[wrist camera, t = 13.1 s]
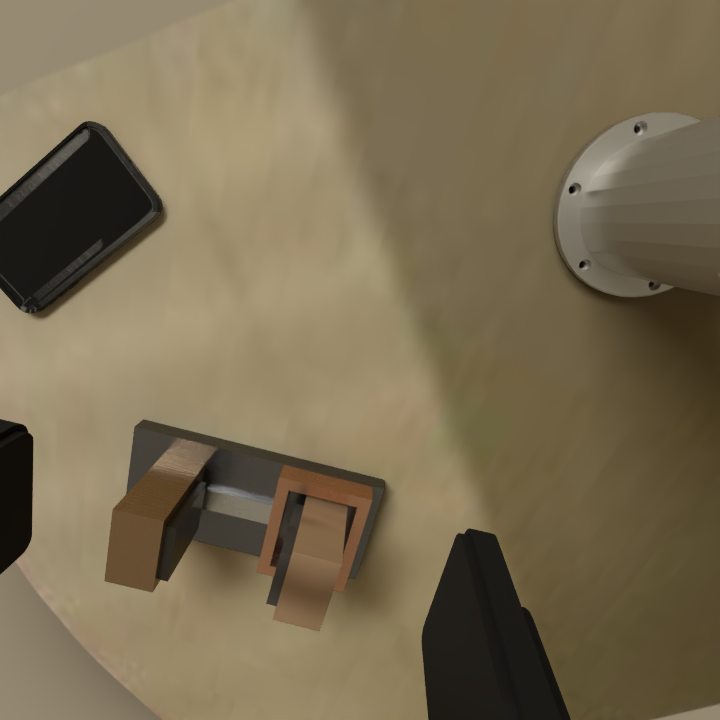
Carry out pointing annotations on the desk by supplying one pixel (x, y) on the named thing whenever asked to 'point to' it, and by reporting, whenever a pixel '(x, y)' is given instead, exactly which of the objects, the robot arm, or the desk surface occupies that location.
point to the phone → (70, 216)
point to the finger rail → (223, 504)
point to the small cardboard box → (309, 563)
